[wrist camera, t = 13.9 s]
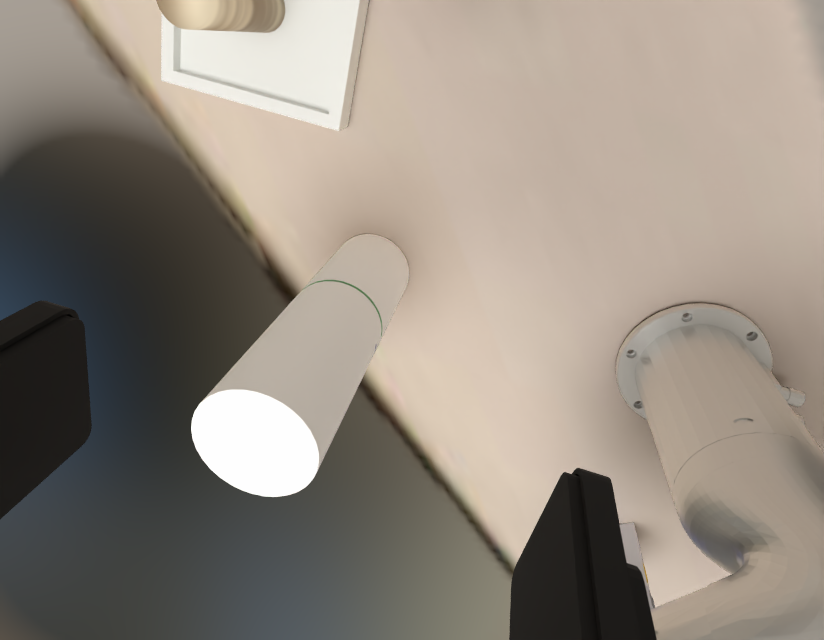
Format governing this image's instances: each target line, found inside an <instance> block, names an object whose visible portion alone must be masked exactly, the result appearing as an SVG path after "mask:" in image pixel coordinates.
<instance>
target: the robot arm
mask: <svg viewBox="0 0 824 640" xmlns="http://www.w3.org/2000/svg"><path fill="white" fill-rule="evenodd" d="M685 313H687V314H686V315H683V314H685ZM629 350H632V351H629ZM772 367H773V363H772V352H771V349H770V345H769V343H768V341H767V339H766V338H765V336H764V334H763V333H762V332H761V330H760V329H759V328H758V327H757V326H756V324H755V323H753V322H752V321H751V320H750V319H748V318H747V317H746V316H745V315H743V314H741V313H739V312H737V311H735V310H733V309H730V308H727V307H723V306H720V305H714V304H705V303H697V304H685V305H680V306H675V307H671V308H669V309H666V310H663V311H661V312H658V313H656V314H655V315H653V316H651V317H649V318H647V319H646V320H644V321H643V322H642V323H641V324H639V325H638V326H637V327H636V328H635V329H634V330H633V331H632V332H631V333H630V334H629V335H628V337H627V338H626V339H625V341H624V343H623V344H622V346H621V348H620V350H619V353H618V356H617V360H616V370H615V372H616V379H617V384H618V387H619V390H620V393H621V395H622V396H623V398H624V400H625V402H626V403H627V404H628V405H629V407H630V408H631V409H632V410H633V411H634V412H636V413H637V414H639V415H640V416H641V417H643V418H644V419H646V420H648V423H649V426H650V429H651V432H652V435H653V439H654V442H655V445H656V448H657V451H658V454H659V457H660V460H661V464H662V467H663V470H664V473H665V476H666V479H667V482H668V486H669V489H670V492H671V495H672V498H673V501H674V504H675V507H676V510H677V513H678V516H679V519H680V521H681V523H682V526H683V528H684V530H685V531H686V533H687V534H688V536H689V538H690V539H691V540H692V542H693V543H694V544H695V545H696V546H697V547H698V548H699V549H700V551H701V552H702V553H703V554H704V555H706V556H707V557H708V558H709V559H711V560H712V561H713V562H714V563H716V564H717V565H718V566H720V567H721V568H723V569H724V570H726V571H727V572H729V573H731V574H732V575H730V576H727V577H725V578H723V579H721V580H719V581H716V582H714V583H711V584H709V585H708V586H707V587H705V588H703V589H700V590H698V591H695V592H693V593H690V594H688V595H685V596H683V597H680V598H678V599H675V600H673V601H670V602H668V603H665V604H663V605H661V606H658V607H656V608H653V609H651V610H650V606H649V601H648V596H647V591H646V587H645V582H644V579H643V576H642V573H641V571H640V569H639V568H638V567H637V566H635V565H632V564H629V563H627V562H626V556H625V551H624V546H623V540H622V535H621V530H620V524H619V519H618V514H617V508H616V503H615V498H614V492H613V487H612V483H611V480H610V478H609V477H606V476H603V475H600V474H596V473H593V472H590V471H587V470H584V469H580V468H577V469H575V470H574V472H573V473H572V474H569V473H566V472H564V473H563V474H562V475H561V477H560V479H559V481H558V483H557V485H556V487H555V489H554V491H553V493H552V495H551V497H550V499H549V501H548V503H547V505H546V507H545V509H544V511H543V513H542V514H541V516H540V518H539V520H538V522H537V524H536V526H535V528H534V530H533V532H532V534H531V536H530V538H529V540H528V542H527V544H526V546H525V548H524V550H523V552H522V554H521V556H520V558H519V560H518V562H517V564H516V567H515V569H514V573H513V577H512V584H511V609H510V638H509V639H510V640H824V453H823V451H822V450H821V448H820V447H819V446H818V444H817V443H816V442H815V440H814V439H813V437H812V436H811V435H810V433H809V432H808V430H807V429H806V428H805V421H804V419H803V417H801V416H800V415H797V414H795V412H794V411H793V410H792V408H791V407H790V405H791V406H795V407H801V406H802V405H803V404H804V402H805V394H804V393H803V392H802V391H798V390H795V389H792V388H788V387H782V386H781V385H780V384H779V382H778V381H777V380H776V378H775V377H774V375H773V374H772V373H771V372H772ZM91 426H92V425H91V413H90V397H89V384H88V370H87V356H86V342H85V328H84V324H83V322H82V321H81V320H79V317H78V314H77V313H76V312H75V311H74V310H72V309H70V308H67V307H64V306H60V305H57V304H54V303H50V302H48V301H38V302H35V303H33V304H31V305H29V306H28V307H26V308H24V309H22V310H20V311H18V312H16V313H14V314H12V315H10V316H9V317H6V318H5V319H3V320H1V321H0V519H1V518H2V517H3V516H4V515H5V514H7V513H8V512H9V511H10V510H11V509H12V508H13V507H14V506H15V505H17V504H18V503H19V502H20V501H21V500H22V499H23V498H24V497H25V496H27V495H28V494H29V493H30V492H31V491H32V490H33V489H34V488H35V487H37V486H38V485H39V484H40V483H41V482H42V481H43V480H44V479H46V478H47V477H48V476H49V475H50V474H51V473H52V472H53V471H54V470H55V469H57V468H58V467H59V466H60V465H61V464H62V463H63V462H64V461H65V460H67V459H68V458H69V457H70V456H71V455H72V454H73V453H74V452H76V451H77V450H78V449H79V448H80V447H81V446H82V445H83V444H84V443H85V442H86V440H87V439H88V437H89V435H90V432H91Z"/></svg>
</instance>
